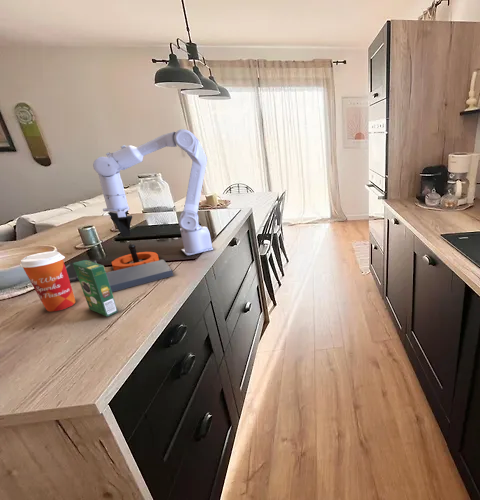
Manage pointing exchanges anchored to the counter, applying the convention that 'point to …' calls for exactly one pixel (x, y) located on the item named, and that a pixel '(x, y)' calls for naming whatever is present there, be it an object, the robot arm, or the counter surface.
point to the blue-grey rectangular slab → (138, 275)
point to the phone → (73, 271)
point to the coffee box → (95, 287)
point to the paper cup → (49, 279)
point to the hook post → (133, 254)
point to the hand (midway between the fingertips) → (124, 233)
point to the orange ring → (120, 261)
